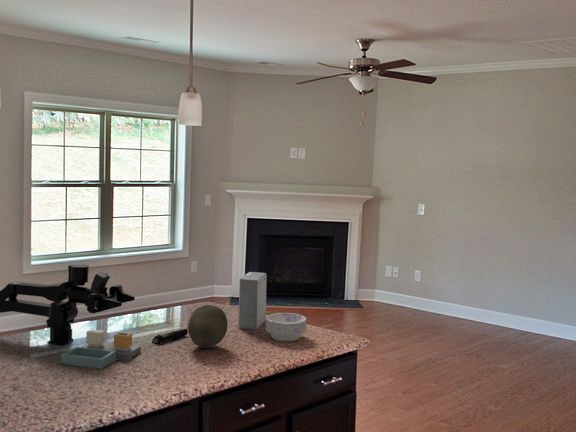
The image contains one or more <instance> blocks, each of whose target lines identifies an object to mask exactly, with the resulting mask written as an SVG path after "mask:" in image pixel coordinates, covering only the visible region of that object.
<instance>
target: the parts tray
mask: <svg viewBox="0 0 576 432" xmlns="http://www.w3.org/2000/svg"><path fill="white" fill-rule="evenodd" d="M60 355H61V356H60V358H61V359H60V361H61V362H60V365H65V366H66V365H67V366H73V367H82V368H90V369H97V368H99V369H98V370H103V369H105V368H106V367H108V366H110V365H111V364H113V363H114V362H116V361H117V360H116V351H111V350H102V349H94V348H85V347H81V346H75V347H74V348H71V349H69V350H68V351H65V352H64V353H62V354H60ZM115 360H116V361H115ZM110 363H111V364H110ZM107 365H108V366H107ZM105 366H106V367H105ZM104 367H105V368H104ZM102 368H103V369H102Z"/></svg>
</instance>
